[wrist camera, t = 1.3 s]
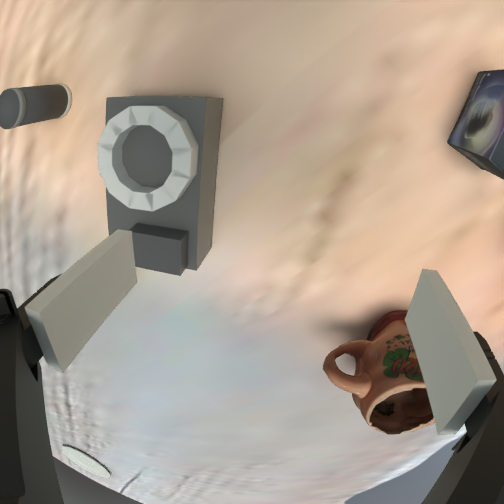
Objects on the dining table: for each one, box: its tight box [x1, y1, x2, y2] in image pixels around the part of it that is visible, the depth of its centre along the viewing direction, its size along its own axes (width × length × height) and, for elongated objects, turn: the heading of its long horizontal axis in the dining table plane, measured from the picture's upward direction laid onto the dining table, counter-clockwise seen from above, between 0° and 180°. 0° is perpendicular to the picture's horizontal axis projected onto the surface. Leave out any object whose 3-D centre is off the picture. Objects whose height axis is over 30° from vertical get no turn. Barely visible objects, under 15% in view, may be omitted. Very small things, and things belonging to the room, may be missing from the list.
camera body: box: [98, 96, 223, 276], centre depth 33 cm, size 18×11×8 cm, turn 174°
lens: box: [0, 84, 72, 129], centre depth 30 cm, size 5×5×10 cm
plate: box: [61, 446, 111, 478], centre depth 88 cm, size 21×21×2 cm
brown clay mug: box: [323, 311, 435, 434], centre depth 36 cm, size 20×12×14 cm, turn 81°
